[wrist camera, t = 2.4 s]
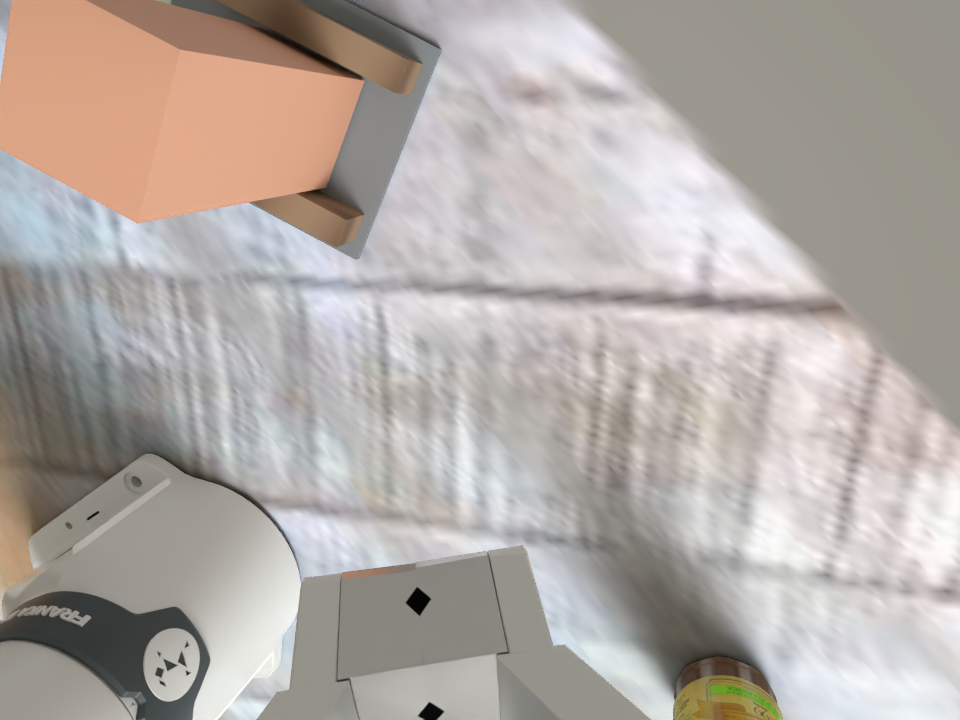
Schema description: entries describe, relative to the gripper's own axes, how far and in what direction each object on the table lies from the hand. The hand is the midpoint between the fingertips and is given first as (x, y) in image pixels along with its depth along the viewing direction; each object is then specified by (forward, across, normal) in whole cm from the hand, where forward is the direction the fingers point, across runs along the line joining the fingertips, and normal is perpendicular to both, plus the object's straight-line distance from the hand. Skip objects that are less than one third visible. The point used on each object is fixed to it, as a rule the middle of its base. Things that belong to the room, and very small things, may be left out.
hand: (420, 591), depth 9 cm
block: (+33, +4, -1) cm, 33 cm away
